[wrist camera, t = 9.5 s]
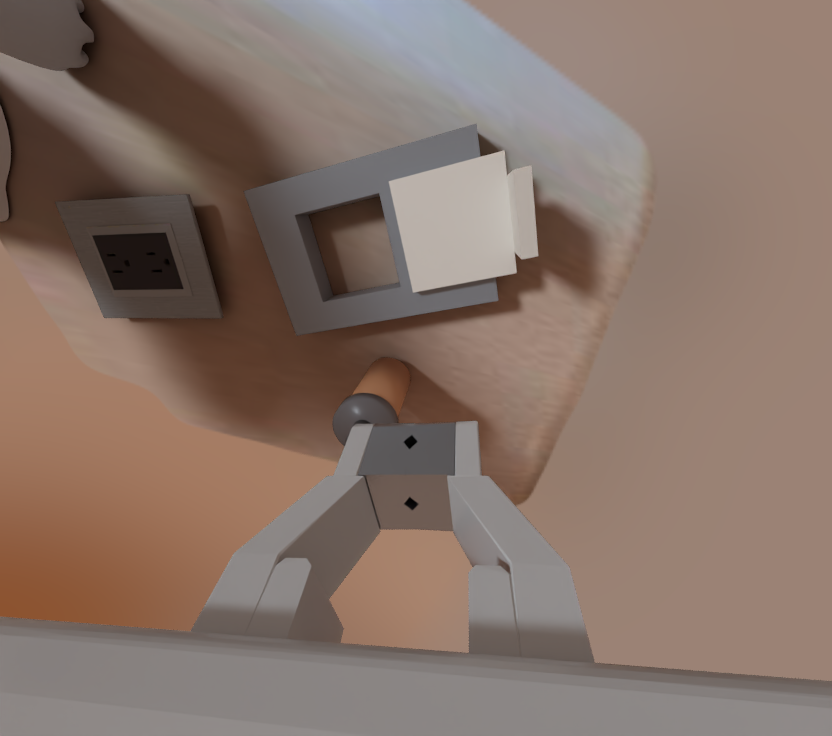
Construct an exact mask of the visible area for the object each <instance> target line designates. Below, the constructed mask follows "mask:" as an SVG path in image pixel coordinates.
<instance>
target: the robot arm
mask: <svg viewBox="0 0 832 736" xmlns="http://www.w3.org/2000/svg"><path fill="white" fill-rule="evenodd" d="M10 162H11V146H10V138H9V132H8V128H7V124H6V120H5V117H4V114H3V111H2V108H1V105H0V222H2V221H6V220H7V219H8V217H9V207H8V200H7V195H6V181H7V177H8V173H9V169H10ZM380 529H421V530H441V531H453V532H454V534H455V536H456V538H457V540H458V542H459V543H460V545H461V547H462V549H463V550H464V552H465V554H466V556H467V558H468V559H469V561H470V563H471V565H472V567H473V568H472V569H471V571H470V572H469V573H468V574H469V653H462V652H448V651H435V650H423V649H410V648H397V647H385V646H372V645H371V646H370V645H359V644H344V643H340V642H341V637H342V633H343V626H342V624H341V622H340V620H339V618H338V616H337V614H336V612H335V610H334V608H333V607H332V604H331V603H330V601H329V598H330V597H331V596H332V595H333V593H334V592H335V591H336V589H337V588H338V587H339V585H340V584H341V583H342V582H343V580H344V579H345V578H346V576H347V575H348V574H349V572H350V571H351V570H352V568H353V567H354V566H355V564H356V563H357V562H358V561H359V559H360V558H361V557H362V555H363V554H364V553H365V551H366V550H367V549H368V547H369V546H370V545H371V543H372V542H373V541H374V540H375V538H376V537H377V535H378V534H379V533H380ZM0 736H832V681H822V680H808V679H796V678H783V677H771V676H758V675H757V676H756V675H745V674H732V673H719V672H706V671H693V670H681V669H668V668H655V667H642V666H629V665H615V664H603V663H595V662H594V658H593V654H592V650H591V647H590V643H589V639H588V635H587V631H586V628H585V624H584V620H583V616H582V612H581V609H580V605H579V602H578V597H577V593H576V589H575V586H574V582H573V578H572V575H571V570H570V567H569V566H568V565H567V563H566V562H565V561H564V560H563V559H562V558H561V557H560V556H559V554H558V553H557V552H556V551H555V550H554V549H553V548H552V547H551V545H550V544H549V543H548V542H547V541H546V540H545V539H544V537H543V536H542V535H541V534H540V533H539V532H538V531H537V530H536V528H535V527H534V526H533V525H532V524H531V523H530V522H529V521H528V519H527V518H526V517H525V516H524V515H523V514H522V513H521V512H520V510H519V509H518V508H517V507H516V506H515V505H514V504H513V502H512V501H511V500H510V499H509V498H508V497H507V496H506V495H505V493H504V492H503V491H502V490H501V489H500V488H499V487H498V486H497V484H496V483H495V482H494V481H493V480H492V479H491V478H490V477H489V476H482V469H481V455H480V441H479V426H478V422H477V421H460V422H442V423H375V424H355V425H354V426H353V427H352V428H351V431H350V434H349V436H348V439H347V441H346V444H345V447H344V449H343V452H342V454H341V457H340V460H339V462H338V465H337V467H336V470H335V473H334V475H333V476H326V477H325V478H324V479H323V480H322V481H320V482H319V483H318V484H317V485H316V486H314V487H313V488H312V489H311V490H310V491H308V492H307V493H306V494H305V495H304V496H302V497H301V498H300V499H299V500H298V501H296V502H295V503H294V504H293V505H291V506H290V507H289V508H288V509H287V510H285V511H284V512H283V513H282V514H281V515H279V516H278V517H277V518H276V519H275V520H274V521H272V522H271V523H270V524H269V525H267V526H266V527H265V528H264V529H263V530H262V531H260V532H259V533H258V534H257V535H255V536H254V537H253V538H252V539H251V540H249V541H248V542H247V543H246V544H245V545H243V546H242V547H241V548H240V549H238V550H237V551H236V552H235V553H234V554H233V556H232V558H231V559H230V561H229V563H228V565H227V567H226V569H225V570H224V572H223V574H222V576H221V577H220V579H219V581H218V583H217V585H216V586H215V588H214V590H213V592H212V594H211V595H210V597H209V599H208V601H207V603H206V604H205V606H204V608H203V610H202V612H201V613H200V615H199V617H198V619H197V621H196V622H195V624H194V626H193V628H192V630H191V631H178V630H165V629H152V628H138V627H125V626H113V625H99V624H87V623H74V622H60V621H48V620H35V619H22V618H9V617H0Z"/></svg>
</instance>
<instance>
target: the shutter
mask: <svg viewBox="0 0 832 736" xmlns="http://www.w3.org/2000/svg"><path fill="white" fill-rule="evenodd" d="M389 186H390V190H391V195H392V199H393V204H394V208H395V213H396V217H397V222H398V227H399V231H400V236H401V240H402V245H403V249H404V254H405V259H406V263H407V268H408V272H409V277H410V281H411V286H412V290H413V293H414V292H419V291H424V290H430V289H435V288H440V287H446V286H451V285H456V284H461V283H467V282H472V281H477V280H483V279H488V278H493V277H498V276H504V275H509V274H514V273H517V270H516V260H515V253H516V254H517V255H518V256H519V257H520V258H521V259H527V258H532V257H537V256H538V245H537V232H536V219H535V206H534V193H533V179H532V166H531V165H530V166H526V167H522V168H518V169H514V170H512V171H511V172H510V173H509V174H508V175H507V171H506V161H505V151H500V152H496V153H493V154H489V155H485V156H481V157H478V158H474V159H470V160H466V161H463V162H459V163H455V164H451V165H448V166H444V167H440V168H436V169H433V170H429V171H425V172H422V173H418V174H414V175H410V176H407V177H403V178H399V179H395V180H392V181H389Z"/></svg>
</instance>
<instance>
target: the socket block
mask: <svg viewBox="0 0 832 736" xmlns="http://www.w3.org/2000/svg"><path fill="white" fill-rule="evenodd" d="M478 157H480V149H479V141H478V133H477V125H476V124H474V125H471V126H467V127H464V128H460V129H457V130H453V131H450V132H446V133H443V134H439V135H436V136H432V137H429V138H426V139H422V140H419V141H415V142H412V143H408V144H405V145H401V146H398V147H394V148H391V149H387V150H384V151H381V152H377V153H374V154H370V155H367V156H363V157H360V158H356V159H353V160H349V161H346V162H343V163H339V164H336V165H332V166H329V167H325V168H322V169H318V170H315V171H311V172H308V173H304V174H301V175H298V176H294V177H291V178H287V179H284V180H280V181H277V182H273V183H270V184H266V185H263V186H259V187H256V188H253V189H249V190H246V191H244V194H245V197H246V199H247V202H248V205H249V208H250V210H251V213H252V216H253V219H254V221H255V224H256V227H257V229H258V232H259V235H260V238H261V240H262V243H263V246H264V249H265V251H266V254H267V257H268V259H269V262H270V265H271V268H272V270H273V273H274V276H275V279H276V281H277V284H278V287H279V289H280V292H281V295H282V298H283V300H284V303H285V306H286V309H287V311H288V314H289V317H290V319H291V322H292V325H293V328H294V330H295V333H296V336H298V335H304V334H310V333H315V332H321V331H327V330H333V329H338V328H344V327H350V326H356V325H361V324H367V323H373V322H379V321H384V320H390V319H396V318H402V317H407V316H413V315H419V314H425V313H430V312H436V311H442V310H448V309H453V308H459V307H465V306H471V305H476V304H482V303H488V302H494V301H498V293H497V285H496V277H493V278H488V279H483V280H477V281H472V282H467V283H461V284H456V285H451V286H446V287H440V288H435V289H430V290H424V291H419V292H414V293H413V290H412V286H411V281H410V277H409V272H408V268H407V263H406V259H405V254H404V249H403V245H402V240H401V236H400V231H399V227H398V222H397V217H396V213H395V208H394V204H393V199H392V195H391V190H390V186H389V181H392V180H395V179H399V178H403V177H407V176H410V175H414V174H418V173H422V172H425V171H429V170H433V169H436V168H440V167H444V166H448V165H451V164H455V163H459V162H463V161H466V160H470V159H474V158H478ZM378 196H380V199H381V204H382V208H383V212H384V217H385V221H386V225H387V230H388V234H389V238H390V243H391V247H392V251H393V256H394V260H395V264H396V269H397V273H398V277H399V282H400V283H395V284H390V285H385V286H380V287H374V288H369V289H364V290H359V291H354V292H349V293H344V294H339V295H334V296H333V293H332V290H331V286H330V283H329V280H328V277H327V273H326V270H325V267H324V264H323V261H322V257H321V254H320V251H319V248H318V244H317V241H316V238H315V235H314V231H313V228H312V225H311V222H310V218H309V214H312V213H316V212H320V211H324V210H328V209H332V208H336V207H339V206H343V205H347V204H351V203H355V202H359V201H363V200H366V199H370V198H374V197H378Z"/></svg>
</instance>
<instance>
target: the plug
mask: <svg viewBox="0 0 832 736" xmlns="http://www.w3.org/2000/svg"><path fill="white" fill-rule="evenodd" d="M410 381H411V377H410V373H409V370H408V368H407V367H406V366H405V365H404V364H403V363H402V362H400V361H399V360H397V359H394V358H388V357H386V358H381V359H378V360H376V361H375V362H374V363H373V364H372V365H371V366H370V368H369V369H368V371H367V372H366V374H365V375H364V377H363V378H362V380H361V382H360V383H359V385H358V386H357V388H356V389H355V391H354V392H353V394H352V395H351V396H349V397H347V398H346V399H345V400H344V401H343V402H342V404H341V405H340V406H339V408H338V409H337V411H336V413H335V414H334V417H333V430H334V433H335V435H336V437H337V438H338V440H339V441H340V442H341V443H342V444H343V445H344V446H345V444H346V441H347V439H348V436H349V434H350V431H351V428H352V427H353V426H354V425H355V424H375V423H398V416H399V413H400V410H401V407H402V405H403V402H404V399H405V396H406V394H407V391H408V388H409V385H410Z"/></svg>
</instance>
